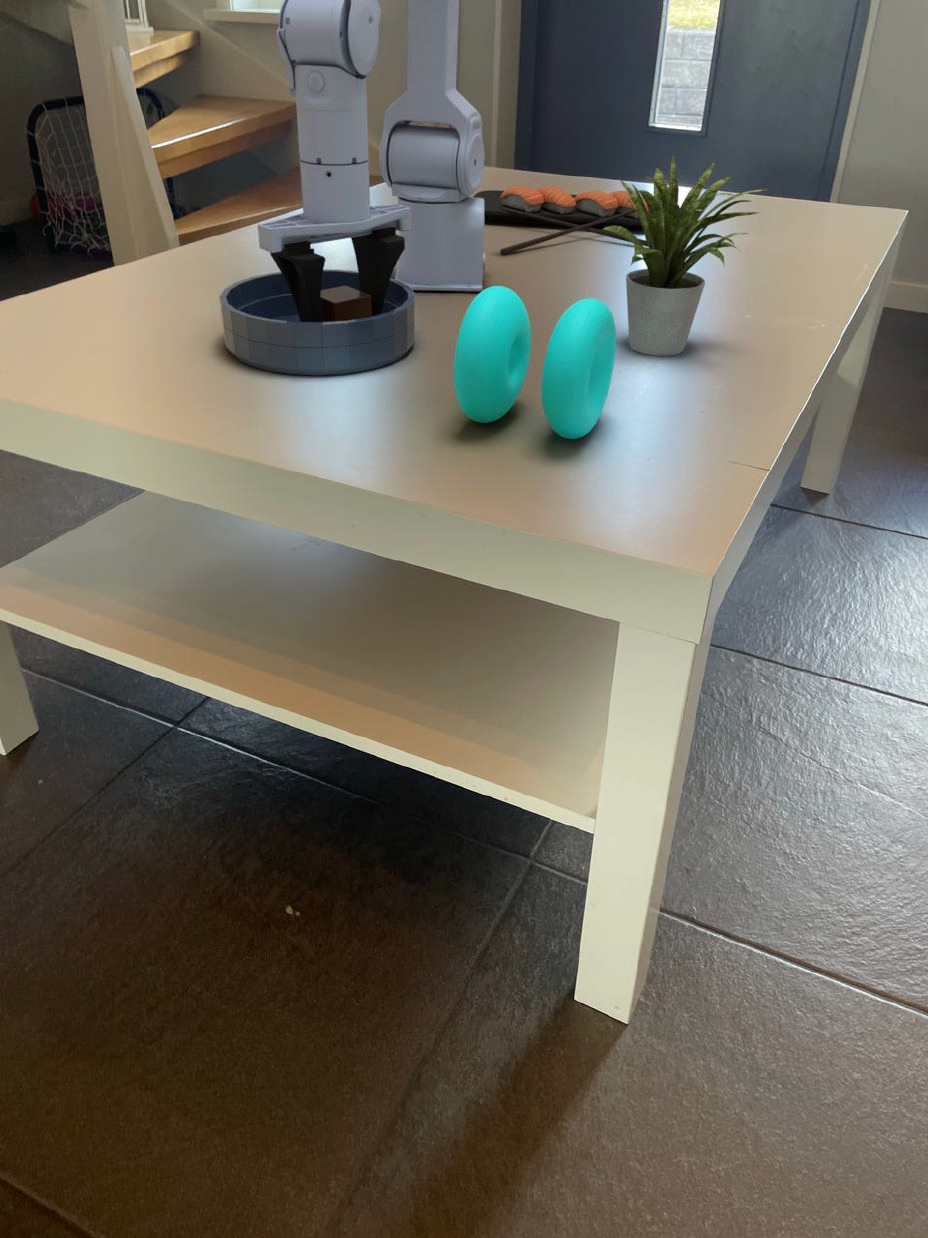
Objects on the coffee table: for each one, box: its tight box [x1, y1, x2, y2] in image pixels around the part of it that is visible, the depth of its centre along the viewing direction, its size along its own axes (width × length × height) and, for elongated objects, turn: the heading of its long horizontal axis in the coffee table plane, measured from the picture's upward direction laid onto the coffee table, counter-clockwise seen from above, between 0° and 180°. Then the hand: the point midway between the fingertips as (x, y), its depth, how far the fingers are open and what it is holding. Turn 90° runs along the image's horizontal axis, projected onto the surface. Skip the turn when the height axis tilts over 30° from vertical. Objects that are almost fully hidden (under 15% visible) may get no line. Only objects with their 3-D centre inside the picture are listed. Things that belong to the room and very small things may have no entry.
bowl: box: [218, 268, 416, 376], centre depth 89 cm, size 17×17×4 cm
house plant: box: [602, 154, 771, 357], centre depth 86 cm, size 14×14×16 cm
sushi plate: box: [472, 186, 681, 255], centre depth 129 cm, size 29×30×4 cm
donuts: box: [453, 285, 617, 440], centre depth 72 cm, size 10×10×10 cm
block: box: [321, 286, 372, 322], centre depth 88 cm, size 4×4×4 cm
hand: (342, 322), depth 89 cm, fingers open, 6 cm apart
